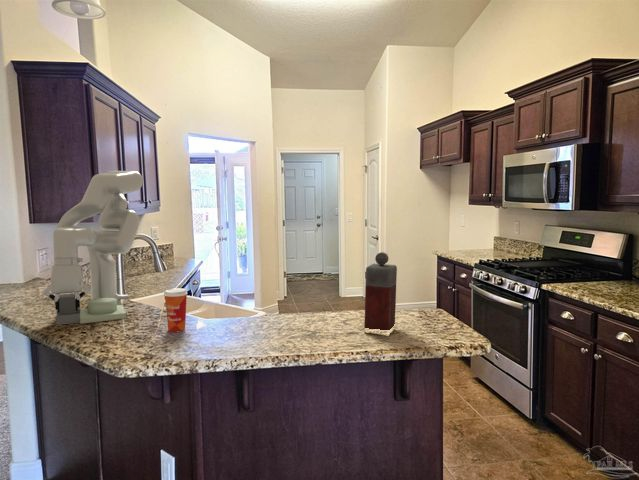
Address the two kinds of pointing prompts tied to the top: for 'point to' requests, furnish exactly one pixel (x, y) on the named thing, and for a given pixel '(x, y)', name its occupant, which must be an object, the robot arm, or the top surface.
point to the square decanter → (380, 294)
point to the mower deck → (102, 317)
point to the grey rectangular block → (67, 304)
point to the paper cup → (176, 309)
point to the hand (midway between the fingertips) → (67, 310)
